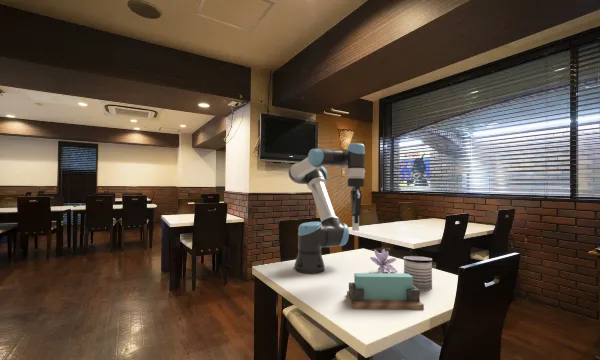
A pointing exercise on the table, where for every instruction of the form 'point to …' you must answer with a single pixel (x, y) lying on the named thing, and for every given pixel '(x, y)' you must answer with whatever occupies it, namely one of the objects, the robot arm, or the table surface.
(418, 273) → the can
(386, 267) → the water lily
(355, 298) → the endcap board
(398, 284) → the teal rectangular block
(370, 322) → the table surface
